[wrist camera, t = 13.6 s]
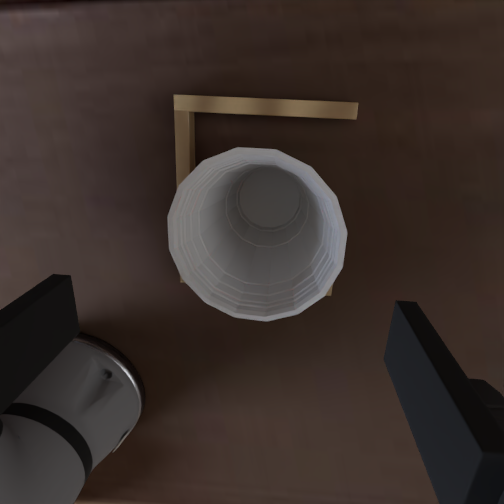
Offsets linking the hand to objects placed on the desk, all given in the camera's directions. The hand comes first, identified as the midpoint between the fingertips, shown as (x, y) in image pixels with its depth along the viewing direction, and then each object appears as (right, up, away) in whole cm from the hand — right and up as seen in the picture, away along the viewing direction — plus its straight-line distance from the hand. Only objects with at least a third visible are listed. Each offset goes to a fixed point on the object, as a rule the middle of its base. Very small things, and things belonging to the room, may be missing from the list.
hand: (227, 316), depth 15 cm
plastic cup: (+2, +8, +17) cm, 19 cm away
